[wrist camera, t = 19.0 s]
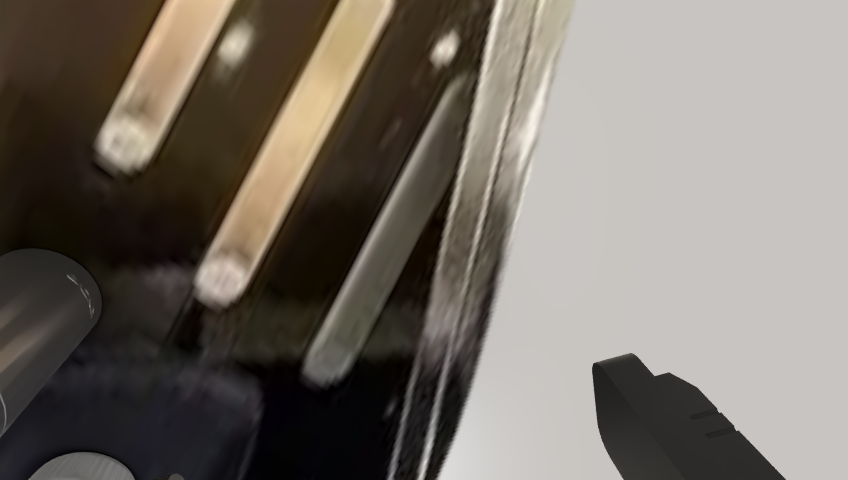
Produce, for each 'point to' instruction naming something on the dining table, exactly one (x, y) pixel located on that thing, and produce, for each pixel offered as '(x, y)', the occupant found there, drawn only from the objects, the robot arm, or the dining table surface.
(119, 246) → the dining table surface
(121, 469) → the ramekin
